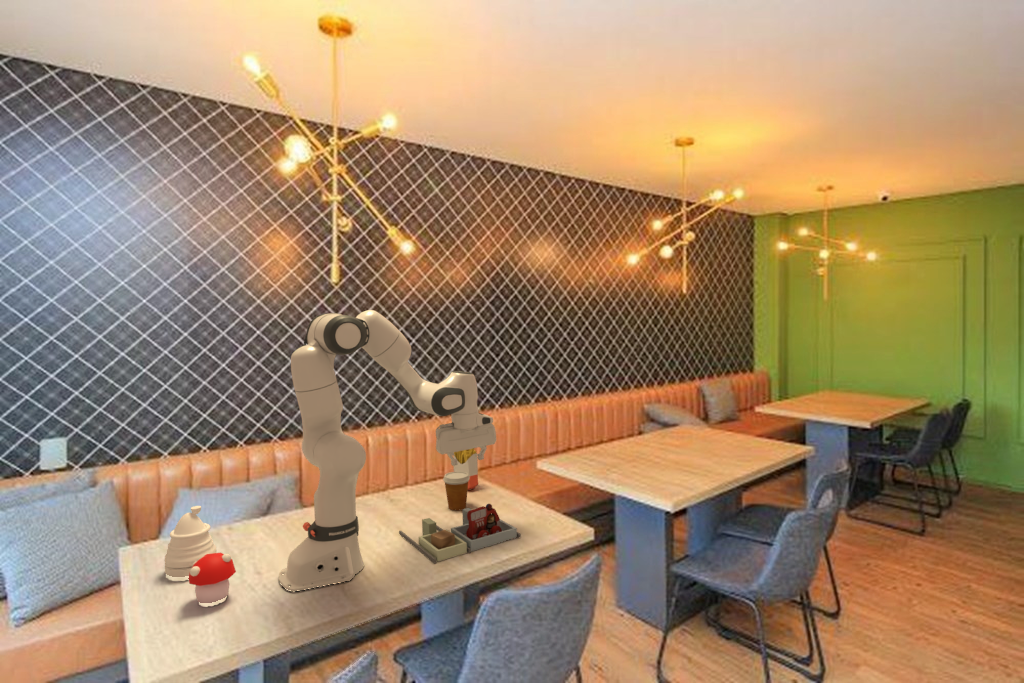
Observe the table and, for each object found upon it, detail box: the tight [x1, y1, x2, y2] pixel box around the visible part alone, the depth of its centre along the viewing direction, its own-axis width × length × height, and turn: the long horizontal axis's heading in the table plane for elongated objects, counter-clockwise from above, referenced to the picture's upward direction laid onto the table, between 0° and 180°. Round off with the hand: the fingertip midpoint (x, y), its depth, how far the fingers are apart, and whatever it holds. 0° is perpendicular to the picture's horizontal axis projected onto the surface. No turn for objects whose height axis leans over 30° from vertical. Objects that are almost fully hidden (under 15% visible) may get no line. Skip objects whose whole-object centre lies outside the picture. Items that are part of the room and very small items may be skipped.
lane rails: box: [398, 524, 522, 565], centre depth 180 cm, size 30×26×1 cm
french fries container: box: [453, 448, 479, 491], centre depth 226 cm, size 5×11×18 cm, turn 40°
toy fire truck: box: [465, 503, 502, 540], centre depth 178 cm, size 7×12×10 cm, turn 134°
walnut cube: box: [431, 529, 455, 550], centre depth 170 cm, size 5×5×5 cm
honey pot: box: [164, 505, 218, 577], centre depth 160 cm, size 13×13×18 cm
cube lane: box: [418, 517, 468, 563], centre depth 172 cm, size 10×18×6 cm, turn 34°
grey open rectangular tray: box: [450, 507, 518, 552], centre depth 180 cm, size 17×18×6 cm
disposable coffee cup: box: [442, 471, 470, 512], centre depth 205 cm, size 10×10×12 cm
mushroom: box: [188, 552, 237, 603], centre depth 143 cm, size 11×11×12 cm
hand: (467, 462), depth 184 cm, fingers open, 8 cm apart
